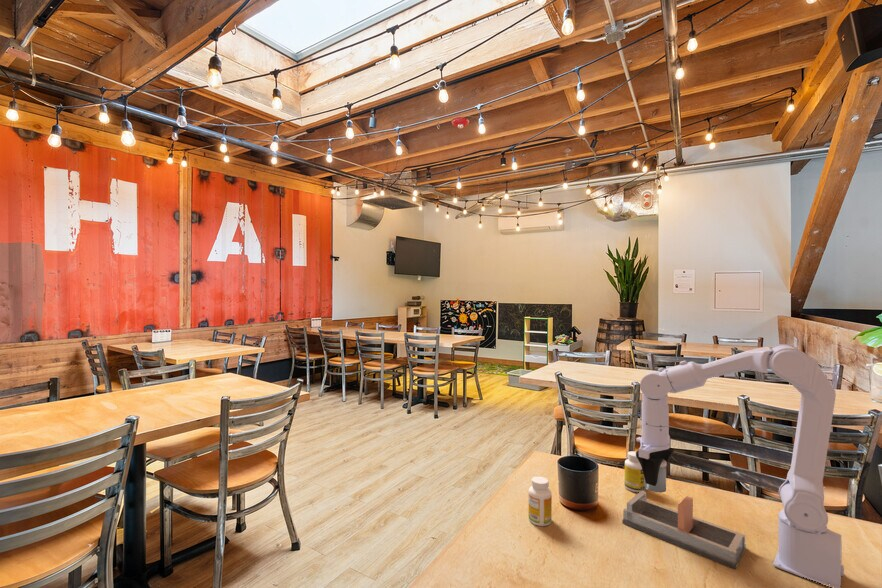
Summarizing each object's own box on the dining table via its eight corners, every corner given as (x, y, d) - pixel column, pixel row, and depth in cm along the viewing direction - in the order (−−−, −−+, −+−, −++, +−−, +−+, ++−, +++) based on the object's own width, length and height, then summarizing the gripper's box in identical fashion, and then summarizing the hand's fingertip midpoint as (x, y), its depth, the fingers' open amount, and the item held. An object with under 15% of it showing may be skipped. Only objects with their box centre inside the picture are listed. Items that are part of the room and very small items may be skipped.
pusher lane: (745, 548, 86) (745, 524, 86) (735, 569, 79) (735, 543, 79) (638, 508, 102) (638, 488, 102) (622, 523, 95) (622, 502, 95)
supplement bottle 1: (549, 515, 99) (549, 475, 99) (553, 527, 93) (553, 485, 93) (527, 513, 99) (527, 474, 99) (529, 526, 94) (530, 484, 94)
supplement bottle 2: (643, 495, 109) (643, 459, 109) (622, 489, 112) (622, 454, 113) (647, 487, 113) (647, 453, 114) (626, 482, 117) (626, 448, 117)
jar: (669, 487, 95) (669, 460, 95) (662, 494, 91) (662, 466, 91) (647, 481, 98) (647, 454, 98) (640, 487, 95) (640, 460, 95)
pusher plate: (692, 527, 92) (692, 497, 92) (683, 538, 87) (683, 507, 87) (686, 525, 93) (686, 495, 93) (677, 536, 88) (677, 505, 88)
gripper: (648, 413, 103) (648, 466, 103) (625, 425, 93) (625, 484, 93) (679, 420, 98) (679, 475, 98) (657, 433, 88) (657, 495, 88)
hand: (654, 480), depth 95 cm, fingers closed on jar, 5 cm apart
